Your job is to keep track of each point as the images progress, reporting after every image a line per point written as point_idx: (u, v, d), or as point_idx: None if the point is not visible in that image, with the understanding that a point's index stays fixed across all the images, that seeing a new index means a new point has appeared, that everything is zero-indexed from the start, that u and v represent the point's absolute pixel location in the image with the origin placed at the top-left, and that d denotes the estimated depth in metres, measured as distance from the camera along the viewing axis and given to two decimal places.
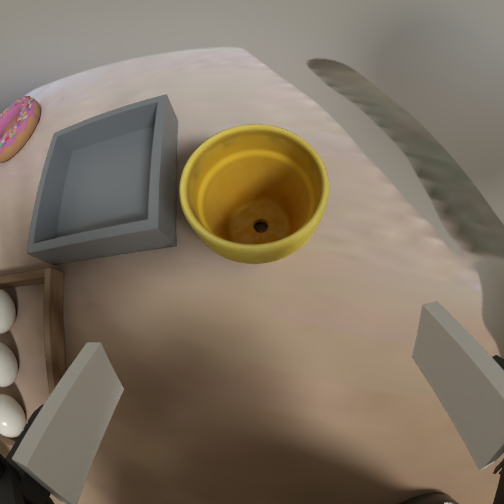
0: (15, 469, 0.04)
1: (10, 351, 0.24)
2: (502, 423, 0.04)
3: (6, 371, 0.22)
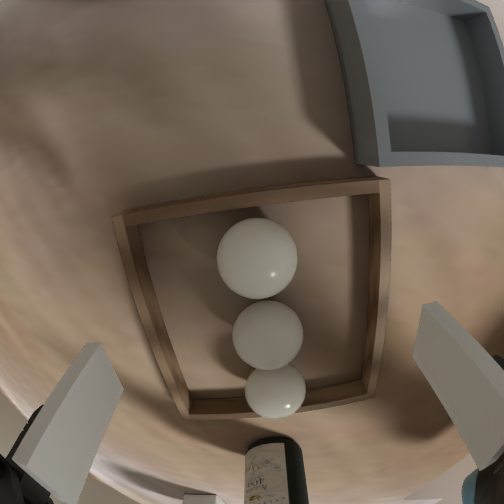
0: (15, 469, 0.04)
1: (288, 307, 0.24)
2: (502, 423, 0.04)
3: (302, 341, 0.23)
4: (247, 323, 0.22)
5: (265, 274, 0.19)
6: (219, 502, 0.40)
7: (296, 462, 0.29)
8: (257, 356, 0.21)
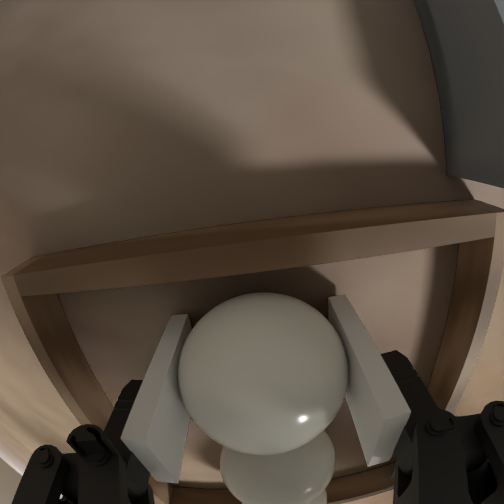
0: (123, 456, 0.06)
1: None
2: (374, 418, 0.06)
3: None
4: (244, 466, 0.10)
5: (283, 440, 0.07)
6: None
7: None
8: None
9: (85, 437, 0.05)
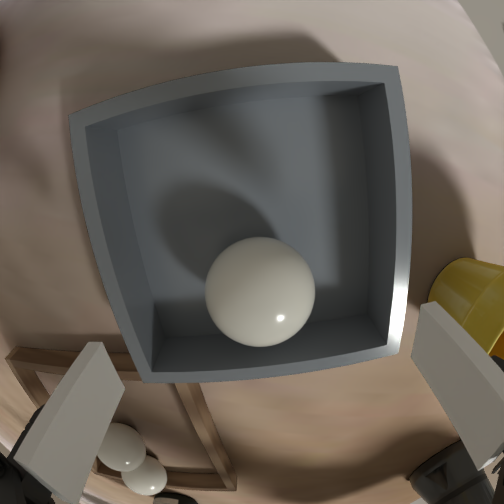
0: (16, 469, 0.04)
1: (130, 433, 0.24)
2: (500, 423, 0.04)
3: (142, 457, 0.23)
4: None
5: (273, 320, 0.13)
6: None
7: None
8: (105, 464, 0.21)
9: None
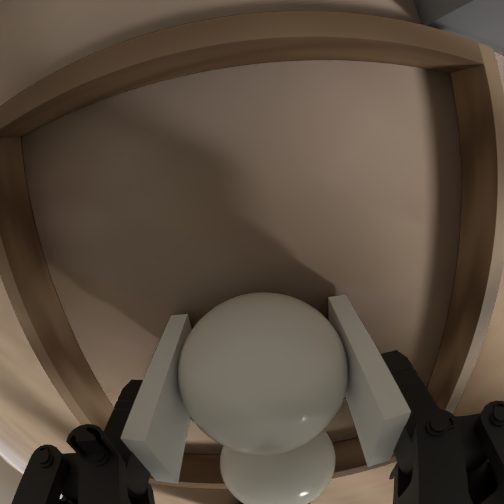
0: (123, 456, 0.06)
1: (314, 309, 0.10)
2: (374, 418, 0.06)
3: None
4: (206, 353, 0.08)
5: None
6: None
7: None
8: (234, 438, 0.07)
9: (85, 437, 0.05)
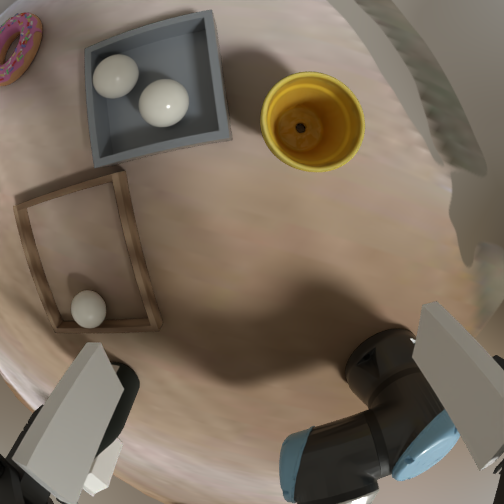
0: (15, 469, 0.04)
1: (125, 70, 0.26)
2: (502, 423, 0.04)
3: (101, 82, 0.25)
4: None
5: (172, 94, 0.27)
6: None
7: (122, 381, 0.42)
8: None
9: None
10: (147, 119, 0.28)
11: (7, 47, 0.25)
